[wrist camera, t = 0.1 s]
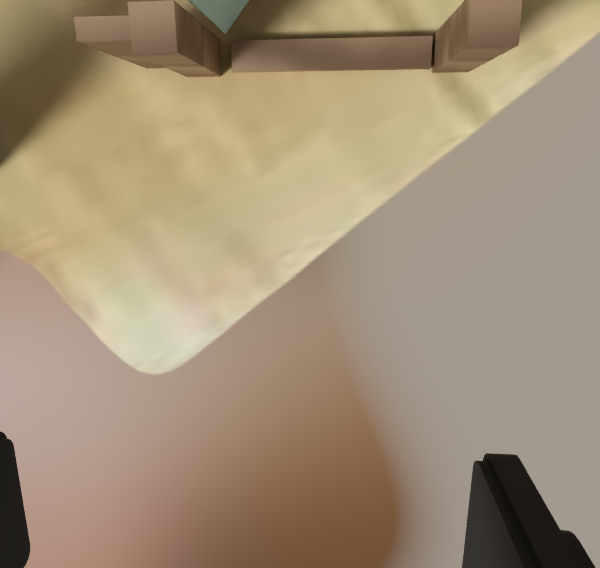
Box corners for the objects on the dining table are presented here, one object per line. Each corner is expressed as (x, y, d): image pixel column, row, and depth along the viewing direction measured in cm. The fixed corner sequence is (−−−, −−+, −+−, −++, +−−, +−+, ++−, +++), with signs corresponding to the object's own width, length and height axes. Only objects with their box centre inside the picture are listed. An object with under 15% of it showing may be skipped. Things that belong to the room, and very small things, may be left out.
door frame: (144, 40, 37) (72, 3, 27) (471, 33, 36) (523, -10, 25) (147, 77, 38) (78, 54, 28) (468, 71, 36) (518, 45, 26)
